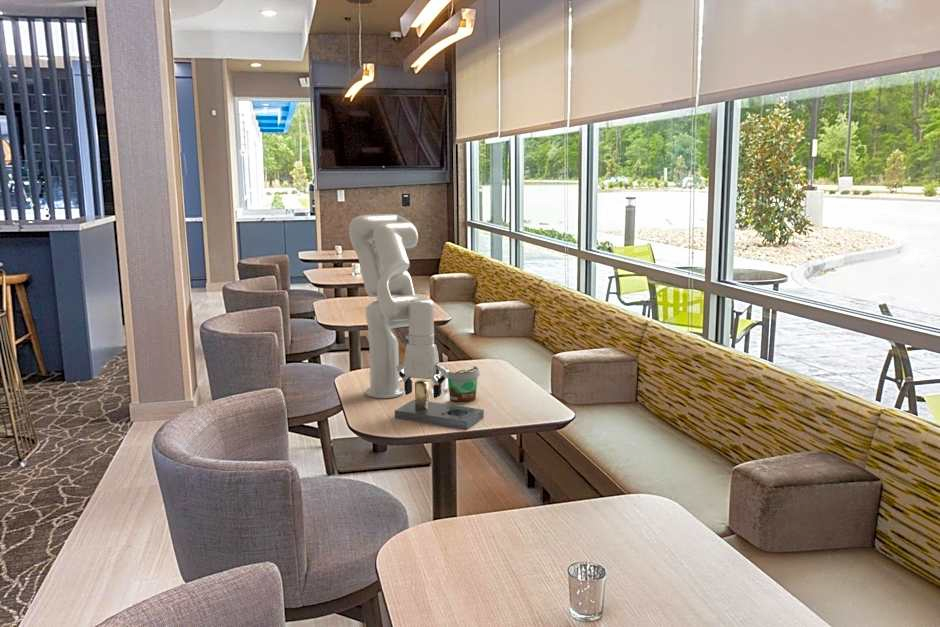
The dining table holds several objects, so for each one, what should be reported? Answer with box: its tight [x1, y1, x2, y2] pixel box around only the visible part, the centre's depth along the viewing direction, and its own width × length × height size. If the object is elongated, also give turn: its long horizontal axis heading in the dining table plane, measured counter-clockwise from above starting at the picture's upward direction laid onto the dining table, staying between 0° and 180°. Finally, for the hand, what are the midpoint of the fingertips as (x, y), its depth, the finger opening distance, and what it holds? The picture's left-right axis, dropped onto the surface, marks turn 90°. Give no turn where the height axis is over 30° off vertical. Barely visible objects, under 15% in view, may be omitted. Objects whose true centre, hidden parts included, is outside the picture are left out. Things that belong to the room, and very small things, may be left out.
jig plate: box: [394, 399, 485, 430], centre depth 233 cm, size 12×24×2 cm, turn 65°
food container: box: [446, 365, 481, 403], centre depth 250 cm, size 12×6×10 cm, turn 131°
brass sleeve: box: [414, 379, 429, 409], centre depth 235 cm, size 4×4×8 cm
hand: (422, 395), depth 234 cm, fingers open, 9 cm apart
